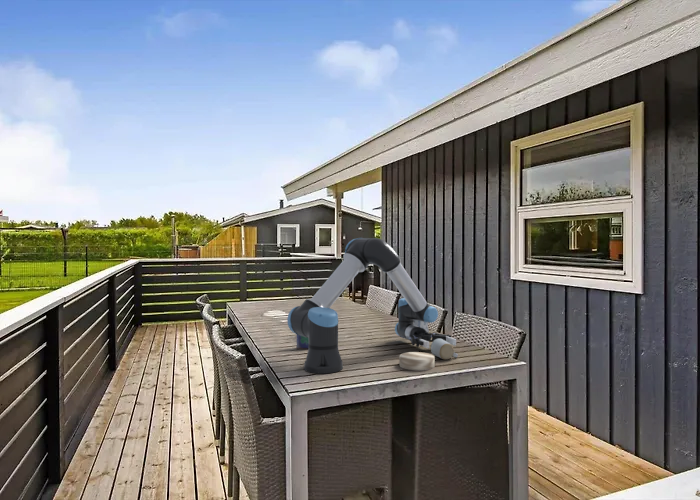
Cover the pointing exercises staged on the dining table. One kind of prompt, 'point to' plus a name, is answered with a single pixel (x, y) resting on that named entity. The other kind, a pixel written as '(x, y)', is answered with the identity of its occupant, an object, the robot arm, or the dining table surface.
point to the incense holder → (421, 324)
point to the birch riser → (416, 361)
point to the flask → (302, 342)
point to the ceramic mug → (442, 349)
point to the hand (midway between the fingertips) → (442, 343)
